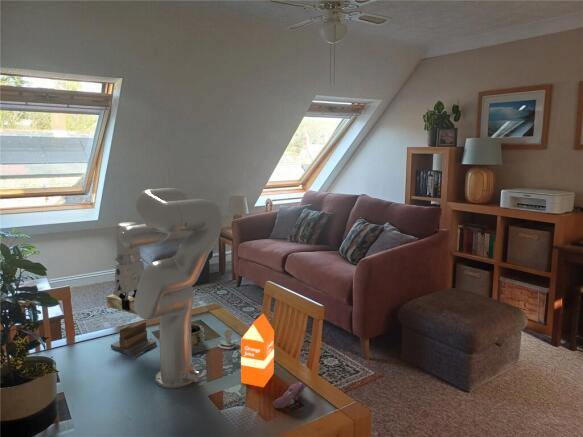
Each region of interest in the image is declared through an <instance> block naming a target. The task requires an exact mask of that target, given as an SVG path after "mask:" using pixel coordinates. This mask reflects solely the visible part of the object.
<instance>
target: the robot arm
mask: <svg viewBox="0 0 583 437" xmlns="http://www.w3.org/2000/svg"><path fill="white" fill-rule="evenodd" d="M135 207H136V212H137V214H138V216H139V218H141V219H142V220H143V222H144V223H142V224H138V223H137V222H133V221H123V222H119V223H117V224H116V225H115V226H116V227H115V237H116V238H115V239H116V240H115V242H116V256H117V257H115V258H114V259H115V260H114V261H115V262H116V264H115V270H114V271H115V273H114V286H115V287H114V290H113V292H112V294H113V295H115V296H118V297H119V298H120V299H122V309H123V310H126V311H129V310H130V305H129V302H130V301H129V300H128V296H129V293H131V292H132V293H133V294H131V295H132V296H131V297H134V298H135V300H134V306H135V311H136V313H137V314H138V315H137V314H136V315H137V316H138V317H140V318H141V319H143V320H152V319H153V320H154V319H158V318H160V317H161V318H160V322H159V330H158V333H159V354H160V355H159V357H160V358H159V360H160V361H159V362H160V363H159V364H160V367H159V368H160V370H159V371H157V373H156V374H155V382H156V384H157V385H159V386H161V387H164V388H167V389H177V388H182V387H186V386H188V385H190V384H191V383H193V382H194V383H197V382H198V381H199V378H200V376H201V371H198V370H197V369H196V368H195V364H194V363H193V362H192V360H193V358H192V356H193V355H192V351H193V349H191V324H192V310H193V304H194V300H195V291H194V287H193V285H195V284H196V282H197V281H198V279H199V277H200V275H201V273H202V271H203V268H204V266H205V263H206V262H207V259H208V256H209V254H210V253H211V252H212V250H213V248H214V246H215V245H216V244H217V241H218V239H219V238H220V235H221V232H222V226H223V216H222V211H221V209H220V207H219V206H218V204H217V203H215V202H214V201H212V200H210V199H205V198H196V199H188V195H187V194H186V193H185V191H183V190H182V189H180V188H175V187H166V188H164V187H163V188H149V189H145V190H143V191H141V193H139V195H138V197H137V199H136V201H135ZM189 231H190V233H189V234H188V235H186V236H185V237H184V238H183V240H182V241H181V242H180V243H179V246H178V248H177V251H176V253H175V254H174V255H173V256H171V257H169V258H168V257H167V258H163V259H158V260H154V261H152V262H150V263H149V264H147V265H146V266H145V265H144V261H143V259H141V248H143V247H150V246H156V245H160V244H162V243H163V242H164V241H166V240H167V239H168V238H169V237H170V235H171V234H176V233H177V234H178V233H184V232H189Z"/></svg>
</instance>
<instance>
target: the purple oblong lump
mask: <svg viewBox="0 0 583 437" xmlns="http://www.w3.org/2000/svg"><path fill="white" fill-rule="evenodd" d="M305 389H306V385H305V384H304V383H303V382H300V381H297V382H295V383H293V384H290V385H289V387H288V389H286V391H285V392H284V393H283V394H282V396H280V397H279V398H276V399H275V400H274V401H273V402H272V403H273V407H274V408H276V409H283V408H285V407H290V406H291V405H292V404H294V402H295V401H297V400H298V399H299V396H300V395H301V394H302V393H303V391H305Z"/></svg>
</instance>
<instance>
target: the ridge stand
mask: <svg viewBox="0 0 583 437" xmlns="http://www.w3.org/2000/svg"><path fill="white" fill-rule="evenodd" d="M118 338H119V340H118V341H116V342H112V343H111V344H110V349H111V348H112V350H114V351H117V352H120V353H122V354H126V355H129V356H132V357H137V356H138V354H139V355H141V354H143V353H145V352H147V351H148V349H149V348H150V349H152V348H154V347H157V341H155V340H153V339H149V338H148V330H147V322H146V321H145V320H140V321H138V322H136V323H133V324H131V325H129V326H127V327H124V328H121V329H120V330H119V337H118ZM153 346H154V347H153ZM150 349H149V350H150ZM146 350H147V351H146ZM144 351H145V352H144ZM142 352H143V353H142ZM140 353H141V354H140ZM136 355H137V356H136Z"/></svg>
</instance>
